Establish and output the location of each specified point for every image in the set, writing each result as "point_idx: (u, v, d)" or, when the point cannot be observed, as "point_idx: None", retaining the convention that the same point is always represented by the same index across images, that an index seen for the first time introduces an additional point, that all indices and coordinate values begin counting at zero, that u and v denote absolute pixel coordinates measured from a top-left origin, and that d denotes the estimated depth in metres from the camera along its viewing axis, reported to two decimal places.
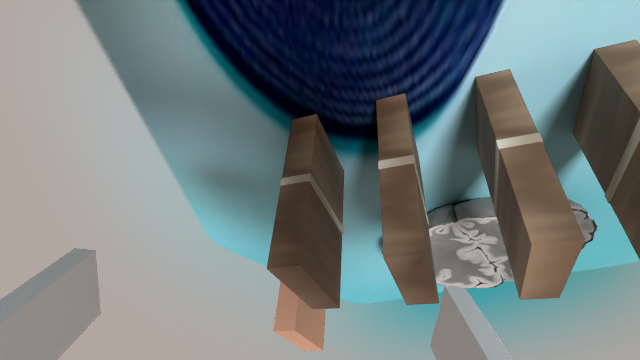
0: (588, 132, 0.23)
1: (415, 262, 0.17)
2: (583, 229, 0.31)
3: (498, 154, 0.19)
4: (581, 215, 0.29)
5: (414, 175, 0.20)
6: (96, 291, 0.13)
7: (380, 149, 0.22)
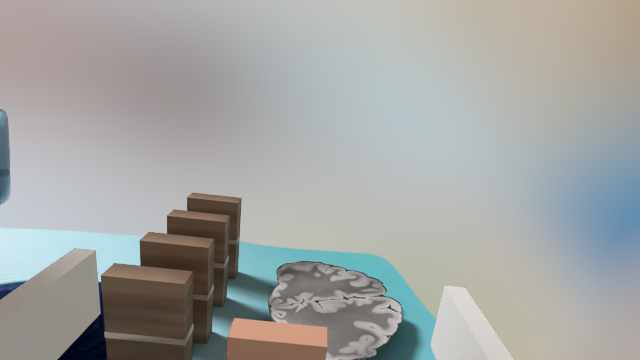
0: None
1: (154, 235, 0.37)
2: (306, 264, 0.53)
3: None
4: (289, 264, 0.52)
5: None
6: (96, 291, 0.13)
7: None
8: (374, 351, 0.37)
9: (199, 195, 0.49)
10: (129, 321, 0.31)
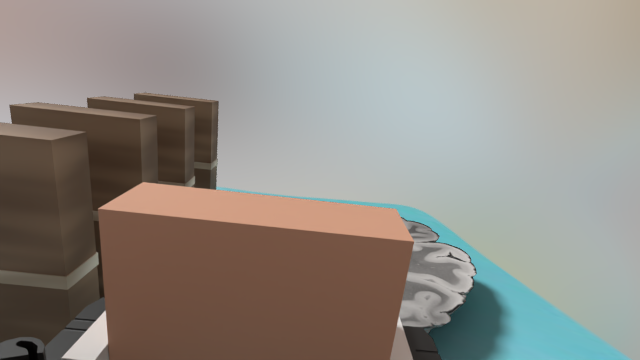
0: None
1: (45, 104, 0.20)
2: None
3: None
4: None
5: None
6: None
7: None
8: (446, 315, 0.21)
9: (154, 94, 0.33)
10: None
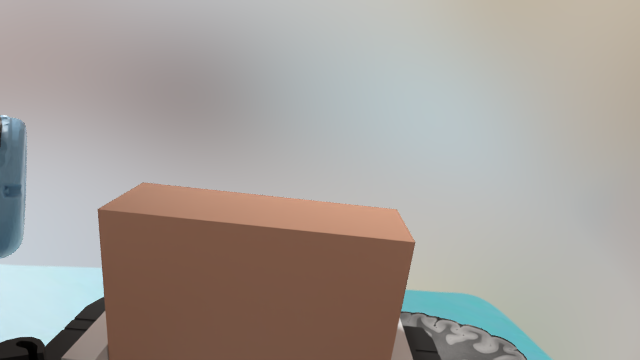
0: None
1: None
2: (406, 317, 0.40)
3: None
4: None
5: None
6: None
7: None
8: None
9: None
10: None
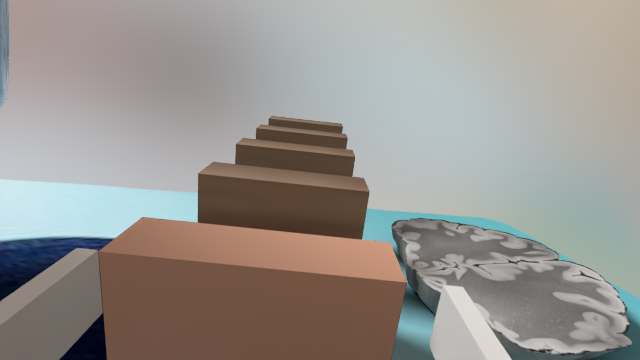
0: None
1: (255, 141, 0.22)
2: (425, 221, 0.37)
3: None
4: (403, 221, 0.37)
5: None
6: (98, 291, 0.13)
7: None
8: (624, 336, 0.22)
9: (283, 118, 0.34)
10: None
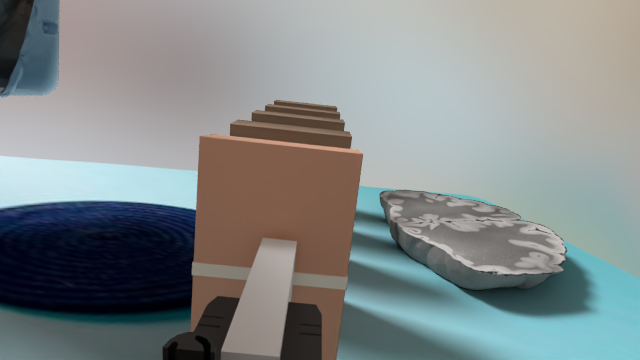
0: None
1: (266, 112, 0.28)
2: (409, 192, 0.43)
3: None
4: (390, 191, 0.43)
5: None
6: None
7: None
8: (558, 266, 0.28)
9: (286, 101, 0.40)
10: None
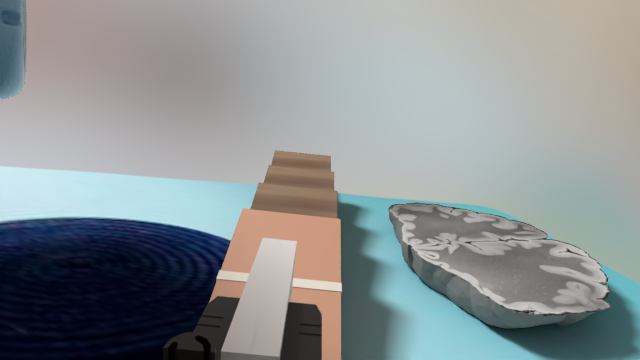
0: None
1: None
2: (421, 205, 0.39)
3: None
4: (400, 205, 0.39)
5: None
6: None
7: None
8: (603, 301, 0.24)
9: None
10: None
